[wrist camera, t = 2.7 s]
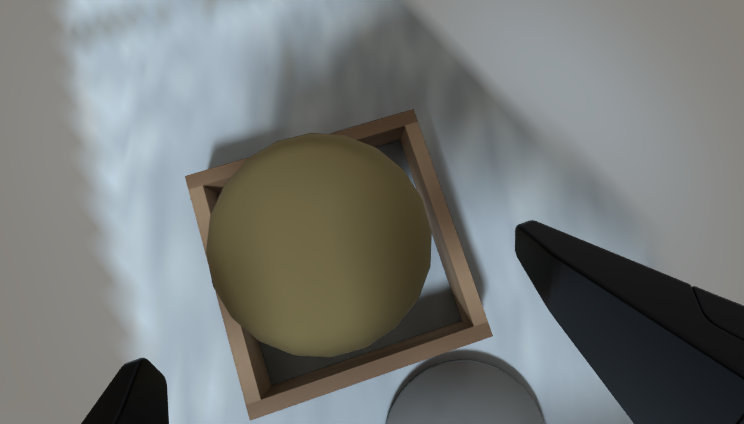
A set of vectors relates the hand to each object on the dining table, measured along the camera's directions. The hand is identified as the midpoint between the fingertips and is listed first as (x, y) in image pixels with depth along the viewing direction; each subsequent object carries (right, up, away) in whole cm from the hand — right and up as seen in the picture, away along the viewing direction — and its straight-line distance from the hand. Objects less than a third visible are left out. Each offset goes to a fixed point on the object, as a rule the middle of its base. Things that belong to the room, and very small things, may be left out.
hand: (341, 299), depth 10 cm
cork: (-1, 0, +10) cm, 10 cm away
